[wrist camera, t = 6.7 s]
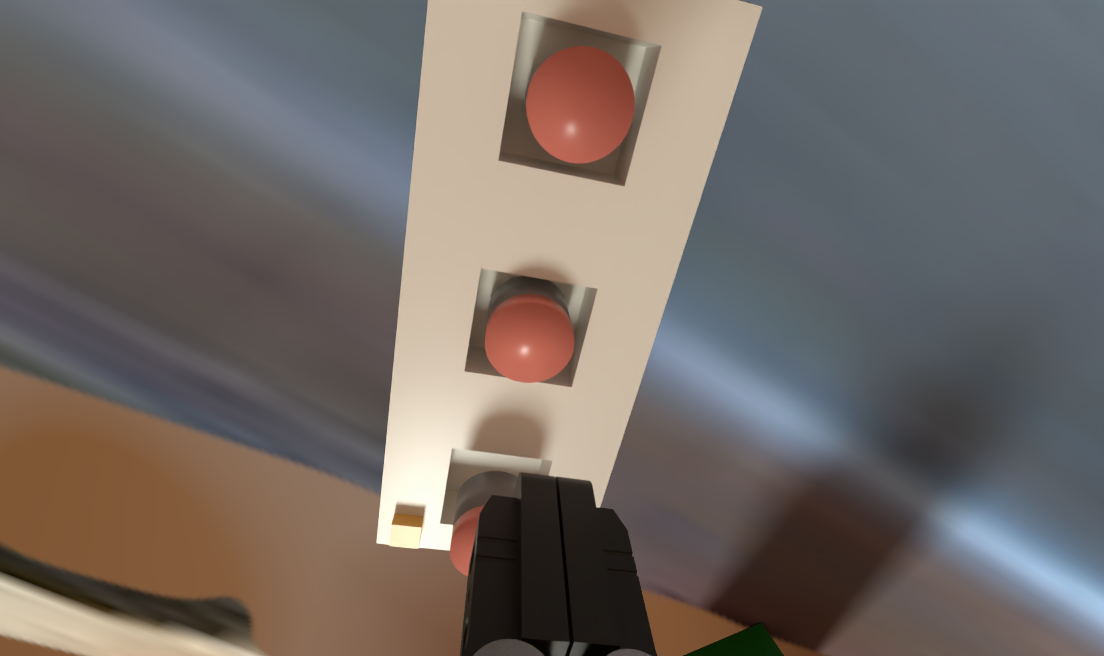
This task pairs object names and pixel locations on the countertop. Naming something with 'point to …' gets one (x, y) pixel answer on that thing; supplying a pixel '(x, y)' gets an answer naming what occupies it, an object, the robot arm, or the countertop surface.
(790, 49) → the countertop surface
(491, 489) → the button
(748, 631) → the milk carton
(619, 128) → the button
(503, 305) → the button
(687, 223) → the button panel
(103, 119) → the countertop surface
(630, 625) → the robot arm
